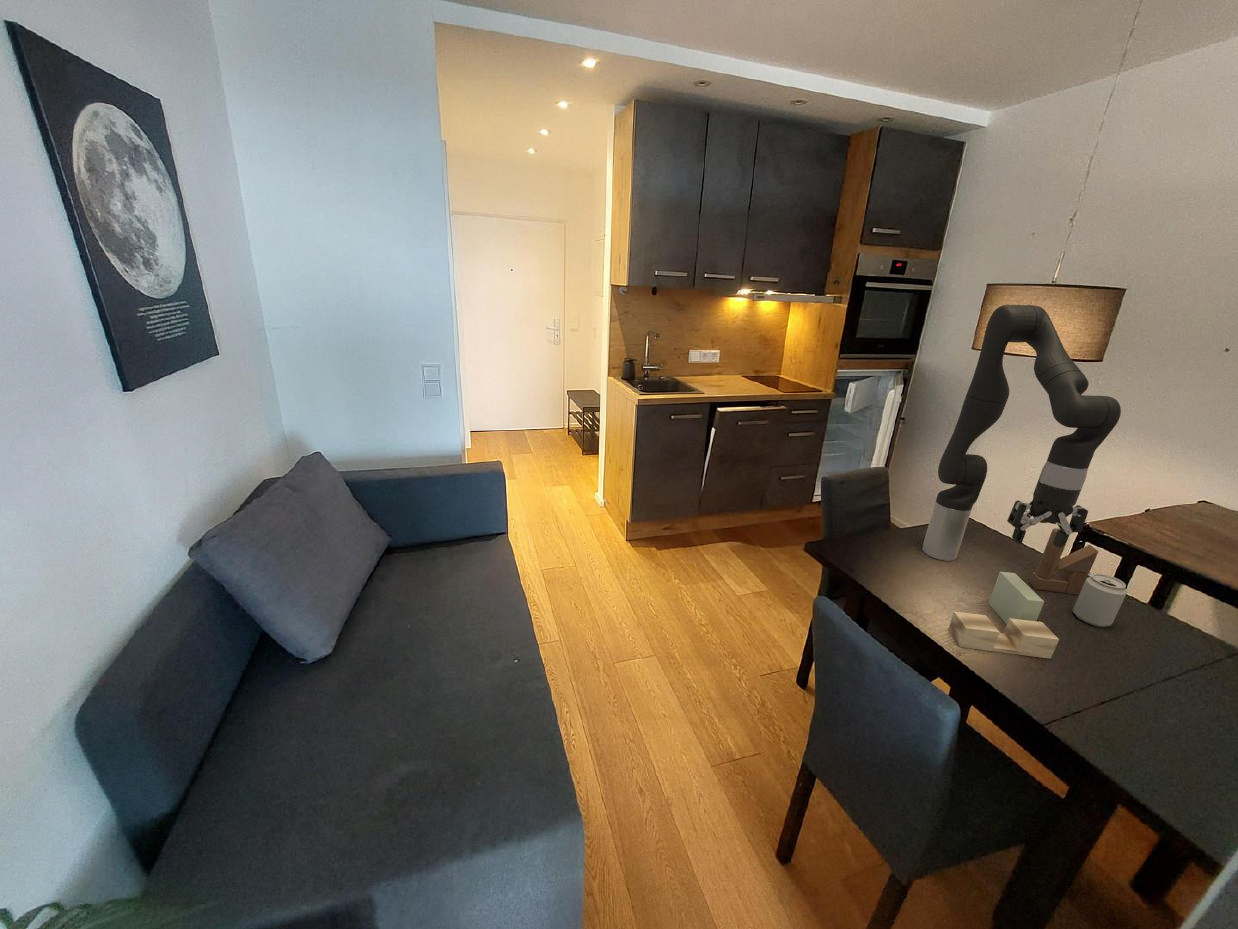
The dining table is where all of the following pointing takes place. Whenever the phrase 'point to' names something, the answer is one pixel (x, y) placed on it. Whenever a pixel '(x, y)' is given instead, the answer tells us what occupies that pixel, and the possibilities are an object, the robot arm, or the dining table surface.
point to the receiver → (1003, 635)
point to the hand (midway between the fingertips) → (1036, 544)
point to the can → (1100, 600)
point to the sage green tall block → (1015, 599)
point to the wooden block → (1063, 568)
